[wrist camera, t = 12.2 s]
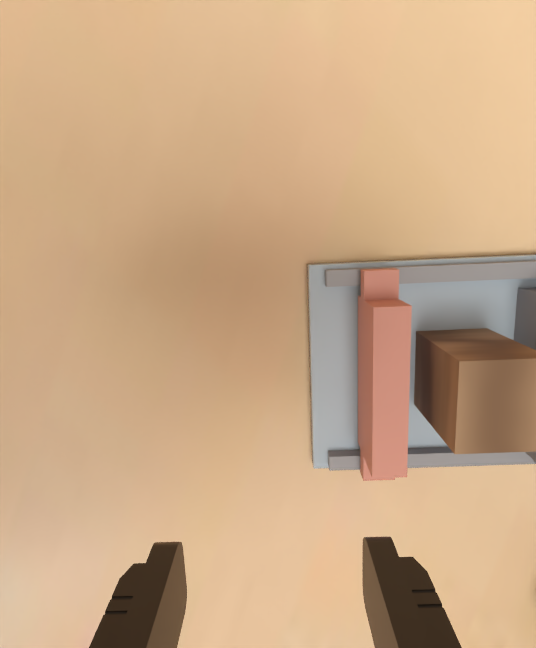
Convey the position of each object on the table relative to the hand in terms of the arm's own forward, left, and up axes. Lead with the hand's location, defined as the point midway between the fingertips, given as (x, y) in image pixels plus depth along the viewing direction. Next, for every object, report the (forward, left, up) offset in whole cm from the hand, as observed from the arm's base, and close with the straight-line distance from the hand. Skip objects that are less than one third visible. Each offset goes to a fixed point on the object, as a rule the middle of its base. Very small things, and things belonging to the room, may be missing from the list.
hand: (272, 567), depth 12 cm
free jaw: (+7, 0, -16) cm, 17 cm away
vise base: (+11, 0, -17) cm, 20 cm away
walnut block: (+12, 0, -16) cm, 20 cm away
